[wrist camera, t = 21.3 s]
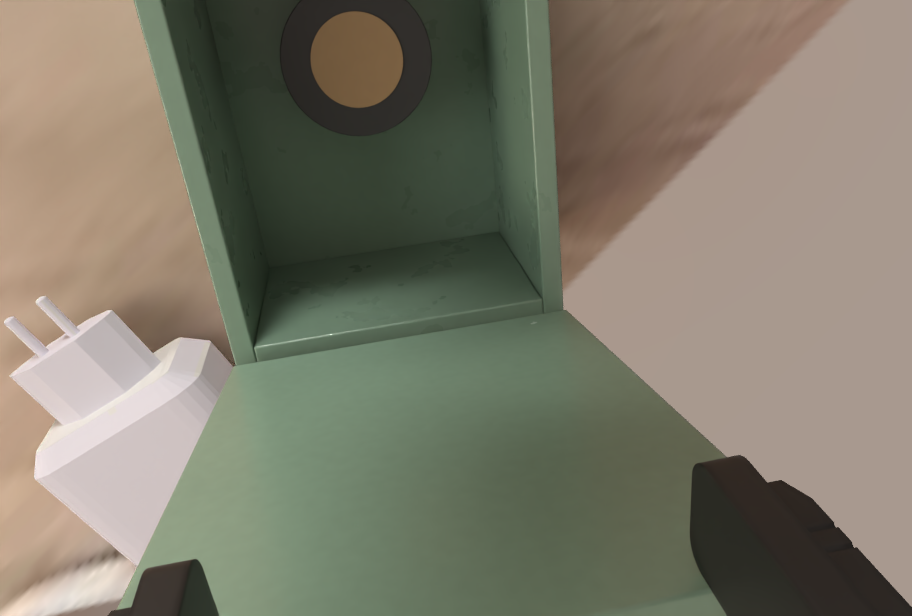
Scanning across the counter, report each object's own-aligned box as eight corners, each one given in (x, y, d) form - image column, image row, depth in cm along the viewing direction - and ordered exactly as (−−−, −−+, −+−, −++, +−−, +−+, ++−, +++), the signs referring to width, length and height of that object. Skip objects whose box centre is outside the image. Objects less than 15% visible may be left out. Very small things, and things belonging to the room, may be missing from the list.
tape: (300, 125, 31) (296, 146, 28) (272, -15, 29) (264, -13, 25) (427, 108, 32) (440, 126, 28) (410, -32, 30) (422, -32, 26)
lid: (57, 728, 11) (146, 983, 12) (844, 561, 12) (841, 811, 13) (232, 365, 27) (263, 496, 28) (566, 309, 28) (578, 437, 29)
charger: (124, 233, 33) (316, 451, 40) (-36, 337, 34) (178, 534, 40) (94, 272, 29) (315, 509, 35) (-88, 389, 30) (160, 600, 36)
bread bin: (165, -89, 28) (102, -110, 20) (484, -124, 29) (541, -158, 21) (257, 279, 35) (236, 369, 27) (512, 238, 36) (564, 313, 28)
